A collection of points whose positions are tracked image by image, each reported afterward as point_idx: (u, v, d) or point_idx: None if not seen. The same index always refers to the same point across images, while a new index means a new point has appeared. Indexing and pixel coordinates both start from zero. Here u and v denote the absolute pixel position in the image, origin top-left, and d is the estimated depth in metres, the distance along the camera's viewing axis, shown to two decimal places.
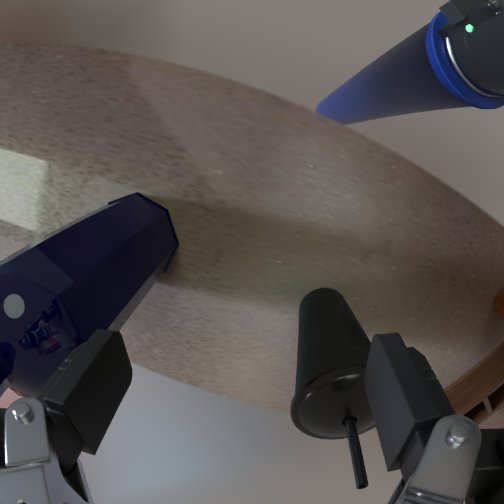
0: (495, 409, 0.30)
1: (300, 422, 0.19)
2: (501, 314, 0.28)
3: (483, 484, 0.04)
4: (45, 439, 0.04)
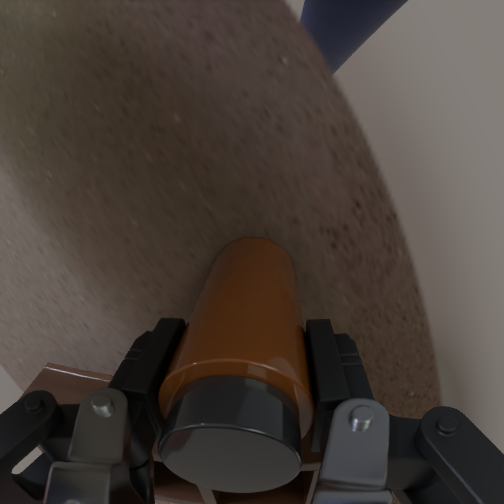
0: None
1: None
2: None
3: (400, 476, 0.05)
4: (121, 439, 0.05)
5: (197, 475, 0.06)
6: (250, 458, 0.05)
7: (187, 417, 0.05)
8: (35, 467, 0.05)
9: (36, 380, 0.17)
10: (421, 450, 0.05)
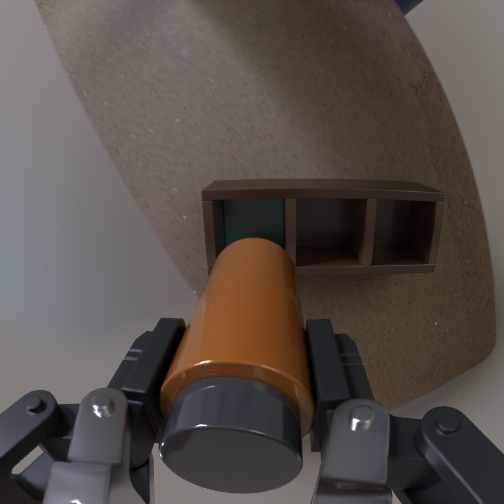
0: (302, 268, 0.25)
1: None
2: None
3: (401, 476, 0.05)
4: (120, 439, 0.05)
5: (198, 476, 0.06)
6: (251, 459, 0.05)
7: (188, 418, 0.05)
8: (35, 466, 0.05)
9: (213, 183, 0.26)
10: (421, 450, 0.05)
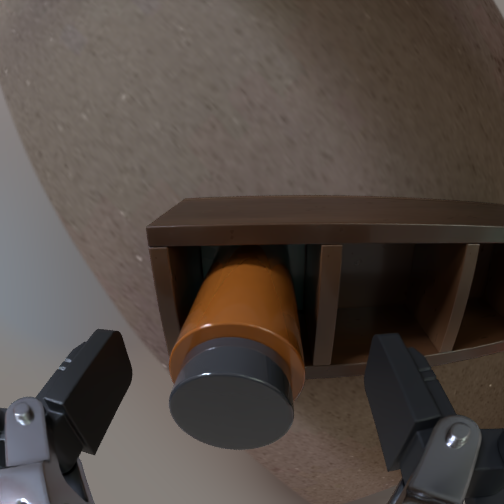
0: (341, 367, 0.13)
1: None
2: None
3: (483, 484, 0.04)
4: (45, 439, 0.04)
5: (202, 430, 0.07)
6: (248, 408, 0.07)
7: (196, 369, 0.07)
8: None
9: (178, 206, 0.14)
10: None
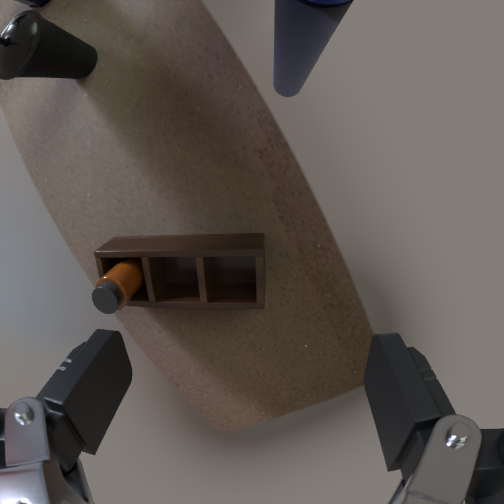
0: (159, 302, 0.35)
1: None
2: None
3: (483, 484, 0.04)
4: (45, 439, 0.04)
5: (99, 305, 0.30)
6: (107, 297, 0.29)
7: (96, 287, 0.29)
8: None
9: (108, 242, 0.36)
10: None
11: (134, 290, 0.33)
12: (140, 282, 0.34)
